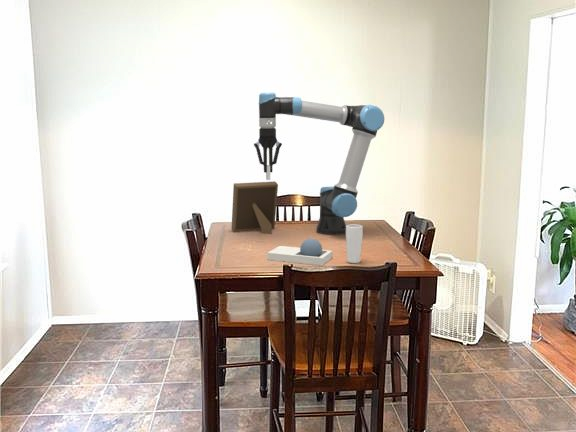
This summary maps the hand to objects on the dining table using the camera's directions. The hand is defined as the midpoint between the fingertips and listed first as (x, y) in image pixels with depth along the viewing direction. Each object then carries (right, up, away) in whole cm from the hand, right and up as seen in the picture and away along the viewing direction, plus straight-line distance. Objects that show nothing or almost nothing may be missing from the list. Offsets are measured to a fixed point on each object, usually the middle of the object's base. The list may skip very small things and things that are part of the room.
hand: (268, 179), depth 268 cm
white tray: (+14, -35, -25) cm, 45 cm away
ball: (+19, -31, -28) cm, 45 cm away
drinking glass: (+36, -36, -30) cm, 59 cm away
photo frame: (-7, -25, +28) cm, 38 cm away
